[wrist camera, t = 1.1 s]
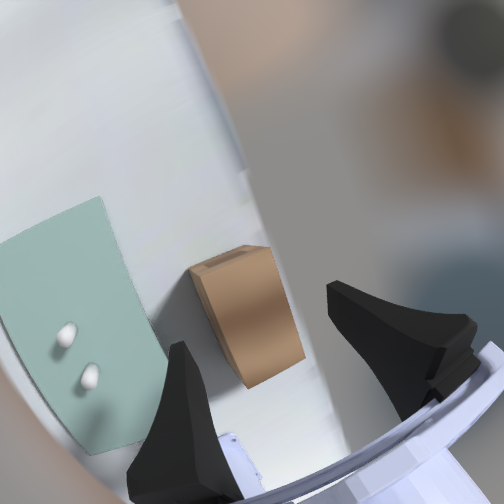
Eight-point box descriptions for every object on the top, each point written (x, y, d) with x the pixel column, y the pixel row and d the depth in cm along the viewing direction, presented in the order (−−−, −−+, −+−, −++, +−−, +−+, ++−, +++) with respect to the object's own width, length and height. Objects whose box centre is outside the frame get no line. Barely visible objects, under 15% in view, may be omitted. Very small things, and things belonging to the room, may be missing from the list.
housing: (277, 338, 26) (305, 357, 21) (227, 362, 24) (248, 389, 19) (244, 244, 24) (270, 247, 19) (187, 267, 22) (200, 276, 18)
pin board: (197, 412, 23) (207, 433, 20) (90, 449, 19) (88, 472, 16) (101, 197, 19) (94, 190, 16) (-16, 255, 16) (-36, 258, 12)
